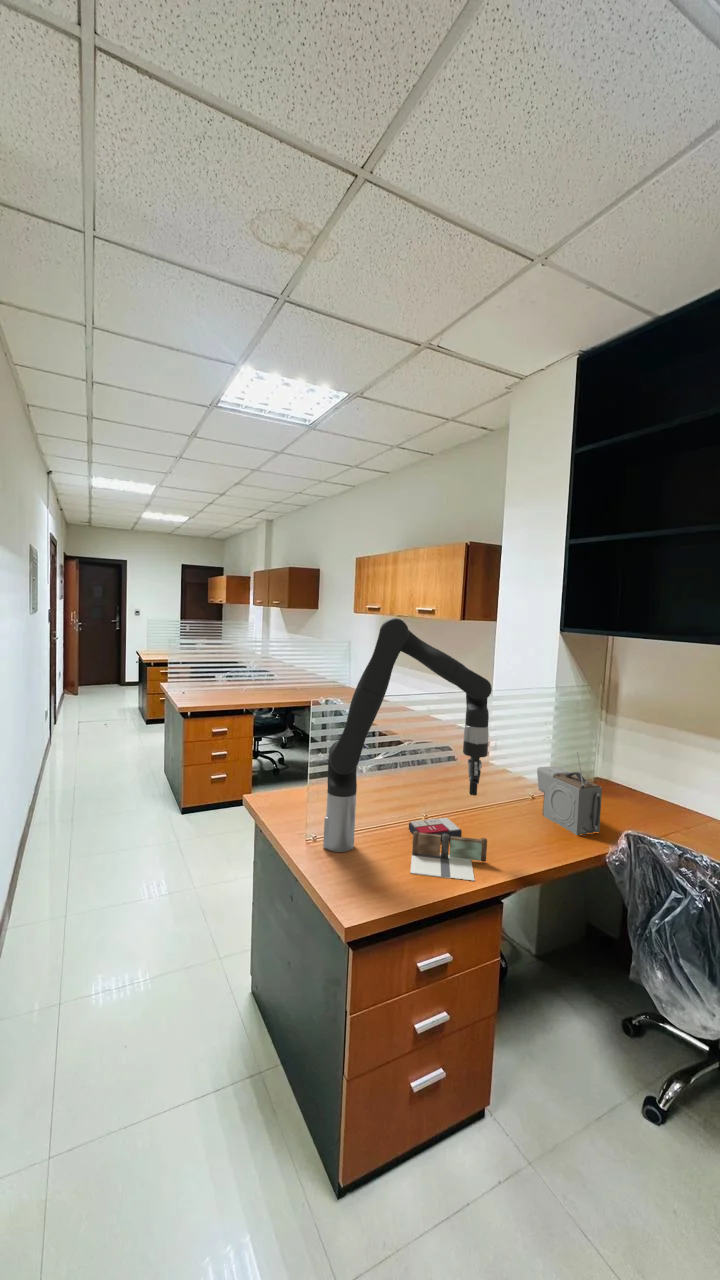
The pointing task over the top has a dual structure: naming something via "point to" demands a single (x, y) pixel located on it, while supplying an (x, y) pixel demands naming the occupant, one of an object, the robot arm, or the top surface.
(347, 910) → the top surface
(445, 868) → the card
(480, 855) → the panel
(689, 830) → the top surface
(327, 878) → the top surface
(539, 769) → the portable television
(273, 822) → the top surface
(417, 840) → the fence fixed section
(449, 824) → the calculator
